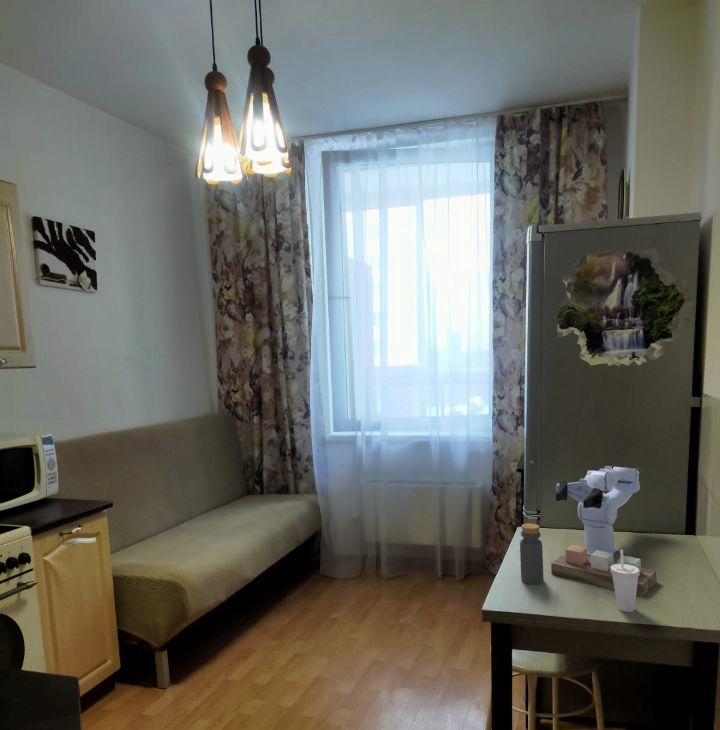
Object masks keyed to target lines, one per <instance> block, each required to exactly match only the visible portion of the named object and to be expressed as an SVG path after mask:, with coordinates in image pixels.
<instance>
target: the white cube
mask: <svg viewBox="0 0 720 730" xmlns="http://www.w3.org/2000/svg"><path fill="white" fill-rule="evenodd" d="M590 557H591V568H594V569H598V570H603V571H607V572H609V571H610V570H611V568H610V567H611V566H612V565H614V563H613V562H614V553H609V552H604V551H599V550H596V551H595V552H593V553H592V554H591V555H590Z"/></svg>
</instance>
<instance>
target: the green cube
mask: <svg viewBox="0 0 720 730" xmlns="http://www.w3.org/2000/svg"><path fill="white" fill-rule="evenodd" d="M616 562H617V564H621V557H619V558H618V559H617V561H616ZM641 562H642V561H641V558H638V557H637V558H636V557H632V556H629V555H628V556H627V555H623V564H628V565H632V566H635V567H637V568H638V569H639V573H640V574H641V568H642V563H641Z"/></svg>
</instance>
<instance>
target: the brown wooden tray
mask: <svg viewBox="0 0 720 730" xmlns="http://www.w3.org/2000/svg"><path fill="white" fill-rule="evenodd" d="M613 563H614V564H617V561H613ZM550 565H551V567H550V568H551V574H552V575H555V574H556V575H555V576H559V575H561V576H560V577H563V576H564V577H563V578H569V579H571V578H572V580H576V581H580V582H583V583H584V582H585V583H588V584H593V585H596V586H601V587H605V588H608V589H613V590H615V588H614V582H613V576H612V573H611V571H609V572H607V571H603V570H598V569H594V568H591V556H590V555H588V562H587V563H585V564H584V565H583V566H581V565H576V564H572V563H568V562H566V552H565V553H564V554H562V555H561V556H559V557H558V558H556V559H555V560H553V561H552V562H551V563H550ZM657 579H658V577H657V570H654V569H650V568H646V567H641V574H640V575H639V576H638V582H637V591H636V596H637V595H638V596H640V597H641V596H642V597H644V596H645V595H646V594H647V593H648V592H649V591H650V590H651V589H652V588H651V587H654V585H656V583H658V582H657ZM650 588H651V589H650ZM649 589H650V590H649ZM648 590H649V591H648ZM647 591H648V592H647Z"/></svg>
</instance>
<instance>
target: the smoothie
mask: <svg viewBox="0 0 720 730" xmlns="http://www.w3.org/2000/svg"><path fill="white" fill-rule="evenodd" d="M623 556H624V550H623V549H620V558H621V564H614V565H612V566H611V567H610V568H611V570H610V571H611V573H612V576H613V582H614V588H615V589H614V593H615V594H614V595H615V599H616V606H617V607H616V608H617V609H618V610H619V611H622V612H625V613H631V612H634V611H635V610H636V599H637V594H636V591H637V582H638V576H639V575H640V573H639V569H638V568H637V567H635V566H632V565H628V564H623Z"/></svg>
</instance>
